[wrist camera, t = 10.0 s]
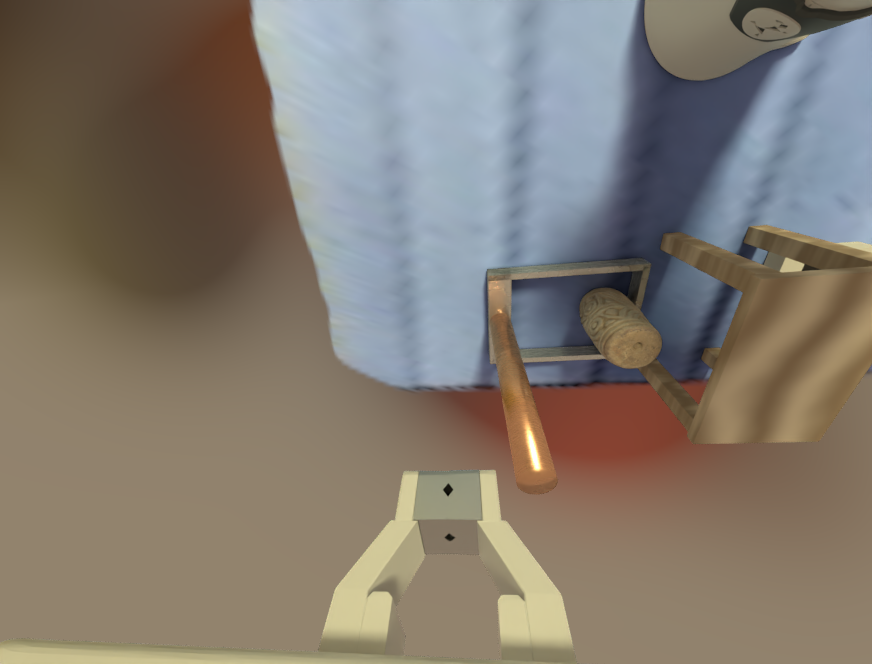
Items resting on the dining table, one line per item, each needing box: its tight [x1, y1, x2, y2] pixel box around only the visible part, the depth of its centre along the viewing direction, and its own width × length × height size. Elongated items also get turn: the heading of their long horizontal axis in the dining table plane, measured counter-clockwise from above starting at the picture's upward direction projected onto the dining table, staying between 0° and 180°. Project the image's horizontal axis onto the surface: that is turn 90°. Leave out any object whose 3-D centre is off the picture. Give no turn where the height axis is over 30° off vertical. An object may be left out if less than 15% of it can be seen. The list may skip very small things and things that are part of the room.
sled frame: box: [487, 258, 651, 494], centre depth 36 cm, size 20×14×28 cm
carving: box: [579, 288, 662, 369], centre depth 42 cm, size 6×8×12 cm
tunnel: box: [638, 225, 872, 444], centre depth 39 cm, size 13×20×16 cm, turn 6°
